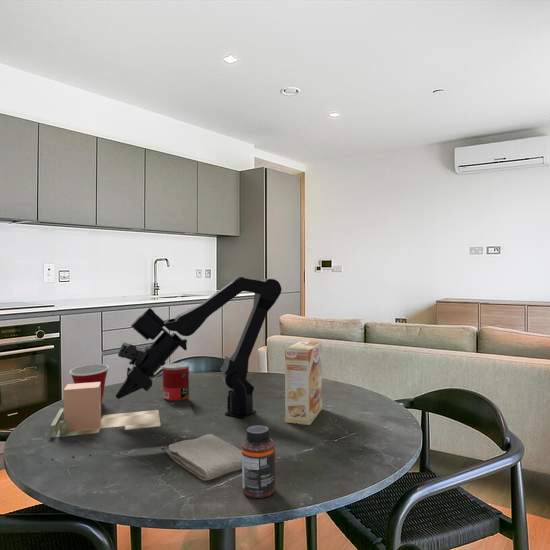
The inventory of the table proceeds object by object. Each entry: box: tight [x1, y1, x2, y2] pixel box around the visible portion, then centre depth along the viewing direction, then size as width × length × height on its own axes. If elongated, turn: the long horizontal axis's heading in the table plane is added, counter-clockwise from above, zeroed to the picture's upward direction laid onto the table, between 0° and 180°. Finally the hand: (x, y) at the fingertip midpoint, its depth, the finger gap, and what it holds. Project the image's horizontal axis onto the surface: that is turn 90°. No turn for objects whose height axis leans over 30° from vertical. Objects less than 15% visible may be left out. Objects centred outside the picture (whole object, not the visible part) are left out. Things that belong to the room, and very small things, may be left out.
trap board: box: [50, 407, 161, 439], centre depth 115 cm, size 25×14×4 cm, turn 107°
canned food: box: [162, 362, 190, 401], centre depth 139 cm, size 8×8×11 cm
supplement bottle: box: [241, 425, 276, 499], centre depth 81 cm, size 6×6×11 cm
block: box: [63, 382, 102, 431], centre depth 113 cm, size 8×6×10 cm
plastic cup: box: [69, 363, 110, 405], centre depth 132 cm, size 11×11×12 cm
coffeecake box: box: [284, 340, 323, 426], centre depth 123 cm, size 15×7×20 cm, turn 161°
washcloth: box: [166, 433, 242, 481], centre depth 95 cm, size 12×18×3 cm, turn 40°
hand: (116, 397), depth 116 cm, fingers closed
